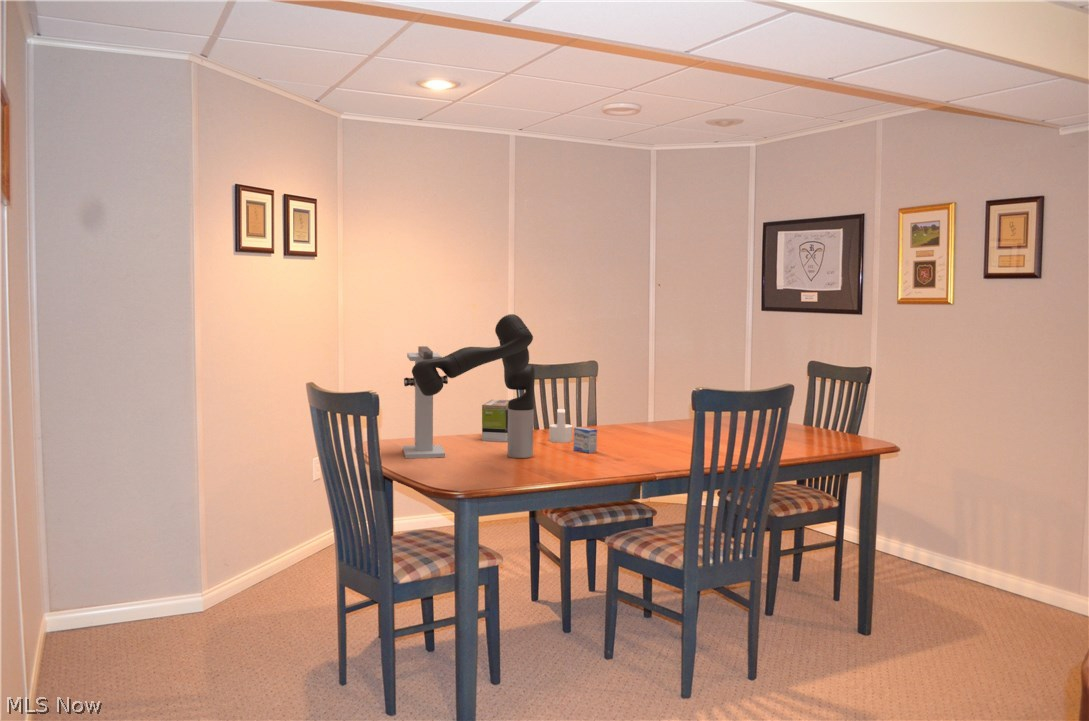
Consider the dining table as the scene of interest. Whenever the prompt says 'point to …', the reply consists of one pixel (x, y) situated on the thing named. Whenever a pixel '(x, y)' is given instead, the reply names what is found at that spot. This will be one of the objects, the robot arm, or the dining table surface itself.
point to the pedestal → (423, 422)
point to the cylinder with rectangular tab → (560, 429)
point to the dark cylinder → (425, 352)
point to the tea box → (495, 420)
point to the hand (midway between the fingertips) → (425, 381)
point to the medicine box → (585, 440)
